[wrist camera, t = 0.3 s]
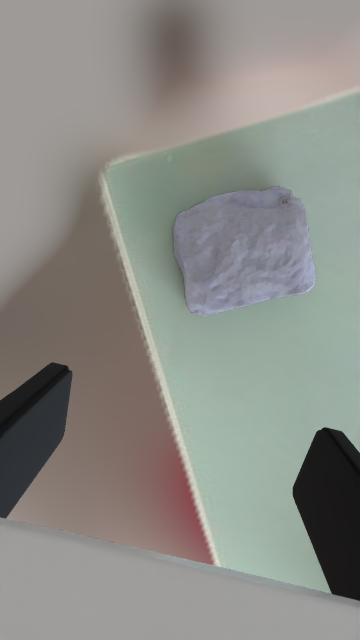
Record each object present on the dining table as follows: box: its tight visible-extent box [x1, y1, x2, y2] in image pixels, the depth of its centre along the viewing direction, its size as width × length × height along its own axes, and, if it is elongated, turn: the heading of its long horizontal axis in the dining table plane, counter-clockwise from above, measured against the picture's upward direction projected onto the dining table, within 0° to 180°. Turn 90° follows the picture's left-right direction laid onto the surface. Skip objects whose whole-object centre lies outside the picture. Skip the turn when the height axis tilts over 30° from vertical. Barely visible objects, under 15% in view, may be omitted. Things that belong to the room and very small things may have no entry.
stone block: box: [173, 186, 316, 316], centre depth 24 cm, size 12×5×10 cm
